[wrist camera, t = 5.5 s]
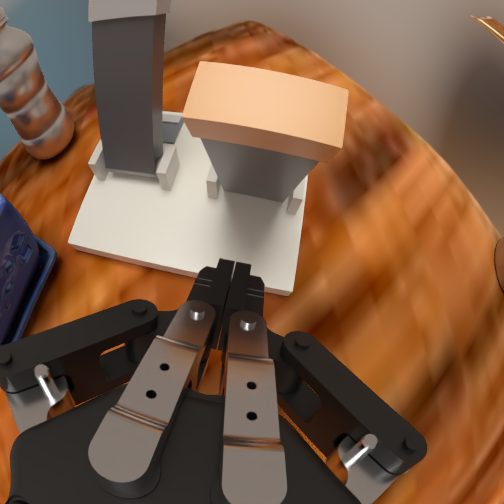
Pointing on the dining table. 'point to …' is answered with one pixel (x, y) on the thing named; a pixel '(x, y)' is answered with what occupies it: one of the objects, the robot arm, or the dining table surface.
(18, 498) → the robot arm
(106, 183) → the switch unit
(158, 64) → the lever grey
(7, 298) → the flower pot
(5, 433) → the dining table surface
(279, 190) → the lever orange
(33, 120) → the plastic bottle
